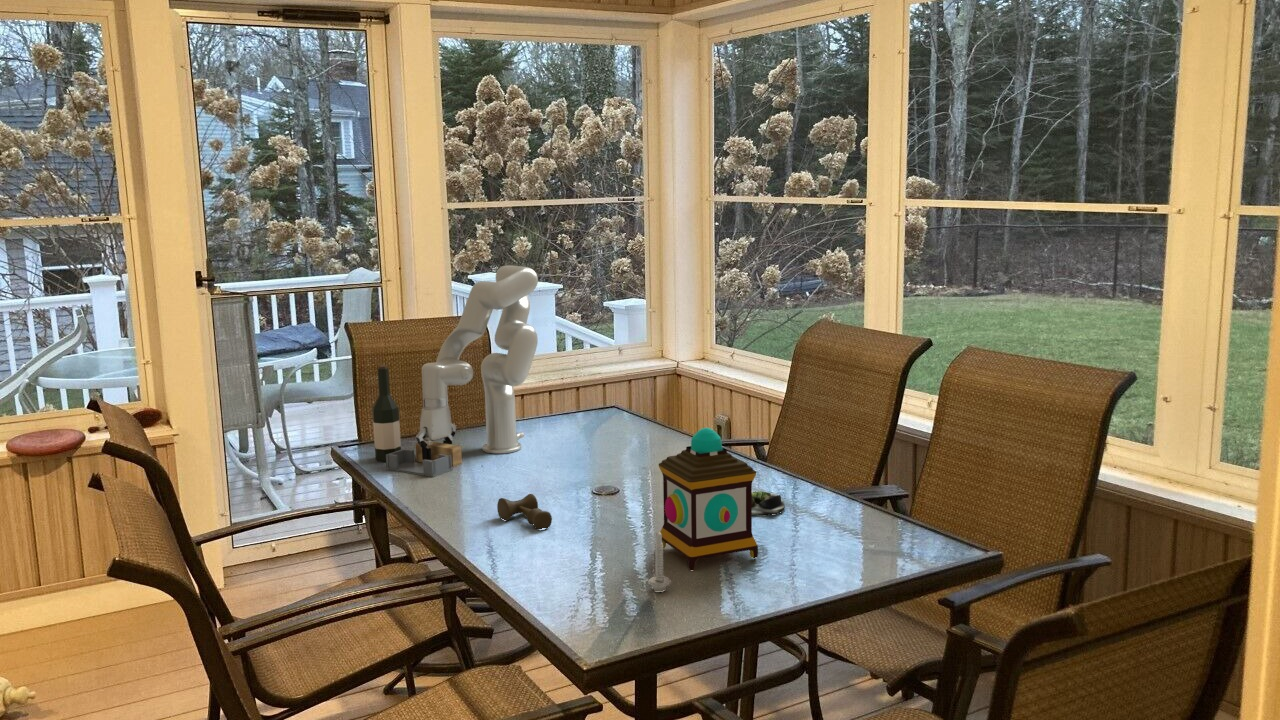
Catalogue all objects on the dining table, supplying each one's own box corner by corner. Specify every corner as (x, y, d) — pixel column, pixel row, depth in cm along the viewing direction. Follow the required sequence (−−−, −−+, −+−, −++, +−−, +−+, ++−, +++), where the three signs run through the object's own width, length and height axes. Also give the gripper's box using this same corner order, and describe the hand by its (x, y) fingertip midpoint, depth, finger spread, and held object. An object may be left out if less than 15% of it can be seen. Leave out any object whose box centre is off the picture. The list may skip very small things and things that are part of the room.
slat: (416, 461, 325) (415, 443, 324) (425, 458, 328) (424, 440, 327) (453, 467, 317) (452, 448, 316) (461, 464, 321) (461, 445, 320)
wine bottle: (398, 462, 324) (392, 368, 319) (371, 462, 324) (365, 368, 319) (404, 455, 332) (399, 363, 327) (379, 455, 333) (373, 363, 327)
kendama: (527, 536, 255) (490, 514, 271) (560, 529, 261) (522, 508, 277) (527, 513, 254) (489, 492, 270) (561, 506, 260) (522, 486, 276)
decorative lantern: (687, 575, 226) (685, 442, 221) (650, 547, 244) (647, 423, 239) (766, 561, 234) (767, 431, 229) (725, 534, 252) (724, 414, 247)
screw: (666, 596, 215) (645, 593, 217) (674, 587, 220) (653, 585, 221) (665, 536, 213) (643, 534, 215) (673, 529, 217) (651, 526, 219)
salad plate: (712, 520, 264) (712, 502, 263) (708, 498, 282) (708, 482, 281) (788, 519, 264) (788, 501, 263) (779, 498, 281) (779, 481, 281)
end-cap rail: (386, 469, 316) (385, 454, 316) (405, 462, 324) (404, 448, 323) (433, 477, 307) (432, 462, 306) (452, 470, 314) (451, 455, 313)
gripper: (445, 396, 329) (446, 449, 331) (406, 406, 314) (409, 461, 317) (463, 399, 325) (465, 452, 328) (425, 409, 310) (427, 464, 313)
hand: (437, 456), depth 322 cm, fingers open, 9 cm apart
